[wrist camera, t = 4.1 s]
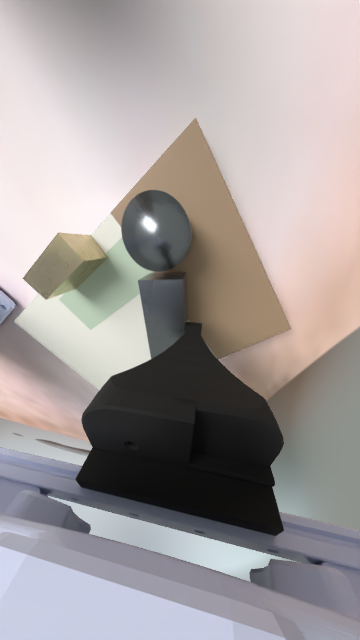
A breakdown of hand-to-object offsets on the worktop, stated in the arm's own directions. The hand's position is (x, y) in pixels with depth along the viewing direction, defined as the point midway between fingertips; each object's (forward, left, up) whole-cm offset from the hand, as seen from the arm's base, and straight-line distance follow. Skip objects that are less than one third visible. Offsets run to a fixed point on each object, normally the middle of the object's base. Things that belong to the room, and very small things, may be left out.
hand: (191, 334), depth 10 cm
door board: (-4, +2, -3) cm, 5 cm away
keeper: (-4, +8, -2) cm, 9 cm away
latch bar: (0, +2, -1) cm, 3 cm away
